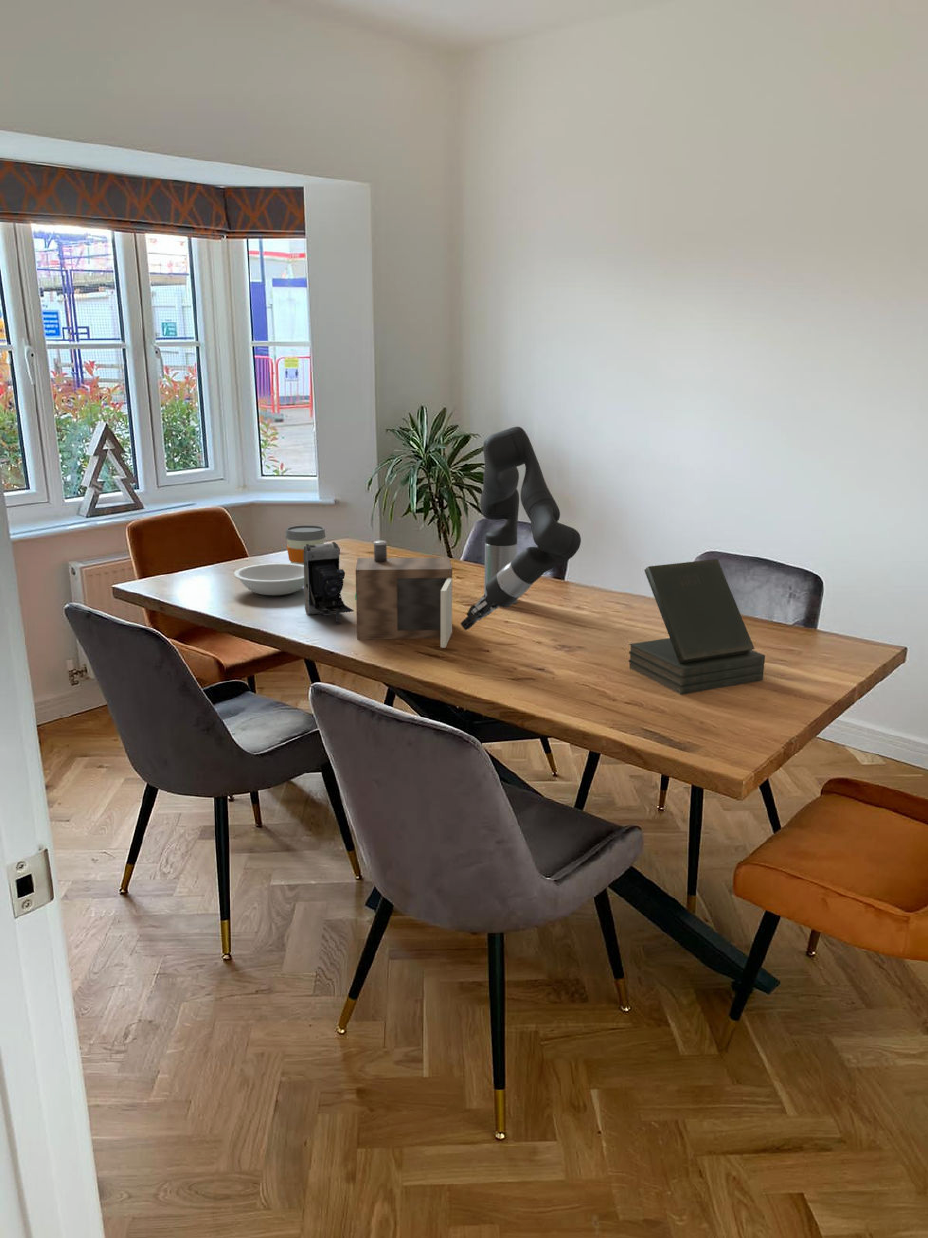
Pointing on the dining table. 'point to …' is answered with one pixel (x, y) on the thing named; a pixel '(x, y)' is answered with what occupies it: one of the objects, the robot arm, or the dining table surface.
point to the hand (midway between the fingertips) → (464, 626)
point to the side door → (446, 612)
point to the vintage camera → (323, 580)
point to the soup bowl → (272, 578)
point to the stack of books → (697, 632)
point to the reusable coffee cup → (302, 540)
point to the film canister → (380, 551)
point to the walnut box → (400, 597)
